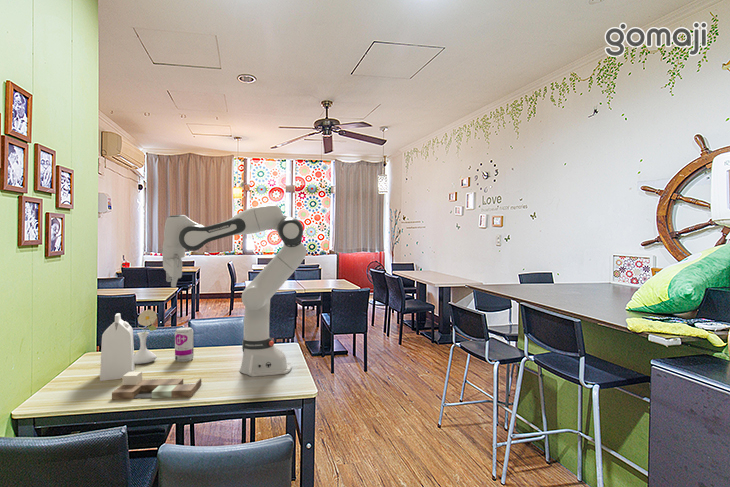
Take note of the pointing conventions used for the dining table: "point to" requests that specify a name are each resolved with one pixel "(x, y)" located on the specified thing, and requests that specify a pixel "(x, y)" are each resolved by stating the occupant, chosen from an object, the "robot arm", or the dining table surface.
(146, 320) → the flower in vase
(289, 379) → the dining table surface
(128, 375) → the cream block
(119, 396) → the board
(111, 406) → the dining table surface
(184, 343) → the supplement can
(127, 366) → the milk
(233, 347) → the dining table surface
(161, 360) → the dining table surface
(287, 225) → the robot arm
